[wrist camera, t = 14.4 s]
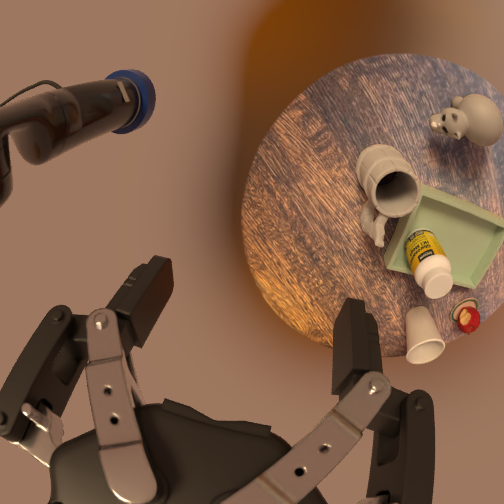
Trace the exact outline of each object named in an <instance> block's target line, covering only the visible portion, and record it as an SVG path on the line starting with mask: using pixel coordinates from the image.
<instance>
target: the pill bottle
mask: <svg viewBox="0 0 504 504" xmlns="http://www.w3.org/2000/svg"><path fill="white" fill-rule="evenodd" d="M404 251H405V254H406V256H407V259H408V262H409V264H410V267H411V270H412V273H413V275H414V278H415V281H416V283H417V284H418V285H419V286H420V287H421V288H423V290H424V292H425V294H426V296H427V297H429V298H432V299H437V298H440V297H443V296H444V295H446V294H447V293H448V292H449V291H450V290H451V288H452V286H453V278H452V276H451V274H450V272H451V265H450V262H449V260H448V258H447V256H446V254H445V252H444V250H443V249H442V247H441V245H440V243H439V242H438V240H437V238H436V236H435V235H434V233H433V232H432V231H431V230H429V229H426V228H419V229H416V230H414V231H412V232H411V233H410V234H409V235H408V236H407V238H406V239H405V242H404Z"/></svg>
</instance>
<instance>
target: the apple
mask: <svg viewBox="0 0 504 504" xmlns="http://www.w3.org/2000/svg"><path fill="white" fill-rule="evenodd" d="M478 308H479V302H478V300H477V299H475V298H468V299H465V300H463V301H461V302H460V303H458V304H457V305H456V306H455V307H454V308H453V310H452V311H451V314H450V319H451V321H452V322H454V323H458V327H459V329H460V330H461V331H462V332H464V333H468V334H470V333H471V332H473V331H475V330H476V329H477V328H478V326H479V324H480V315H479V312H478V311H477V310H478Z"/></svg>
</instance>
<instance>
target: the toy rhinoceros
mask: <svg viewBox="0 0 504 504" xmlns="http://www.w3.org/2000/svg"><path fill="white" fill-rule="evenodd" d="M451 105H452V108H446V109H444V110H443V111H442V112H441V113H440V114H434V115H432V116H431V117H430V120H429V125H430V127H431V129H432V131H434V132H435V133H437V134H444V135H446V136H448V137H451V138H453V139H458V140H460V139H461V138H462V137H463V136H464V135H465V136H466V137H467V138H468V139H469V140H470V141H471V142H473V143H475V144H477V145H480V146H490V145H493V144H494V143H496V142H497V141H498V140H499V138H500V137H501V134H502V131H503V120H502V116H501V114H500V111H499V110H498V108H497V106H496V105H495V104H494V103H493V102H492V101H491V100H490V99H488V98H487V97H485V96H483V95H479V94H470V95H468V96H466V97H464V98H462V97H458V96H457V97H454V98H453V99H452V102H451Z"/></svg>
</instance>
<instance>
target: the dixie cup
mask: <svg viewBox="0 0 504 504" xmlns="http://www.w3.org/2000/svg"><path fill="white" fill-rule="evenodd" d="M405 322H406V338H407V355H406V358H407V360H408V362H410V363H413V364H423V363H427V362H430V361H432V360H434V359H435V358H437V357H438V356H439V355H440V354H441V353H442V352H443V350H444V348H445V343H444V341H443V340H442V338H441V336H440V334H439V332H438V330H437V327H436V325H435V323H434V321H433V319H432V317H431V315H430V313H429V310H428V309H427V308H426V307H424V306H418V307H415V308H413V309H411V310H410V311H409V312H408V313H407V314H406V316H405Z"/></svg>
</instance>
